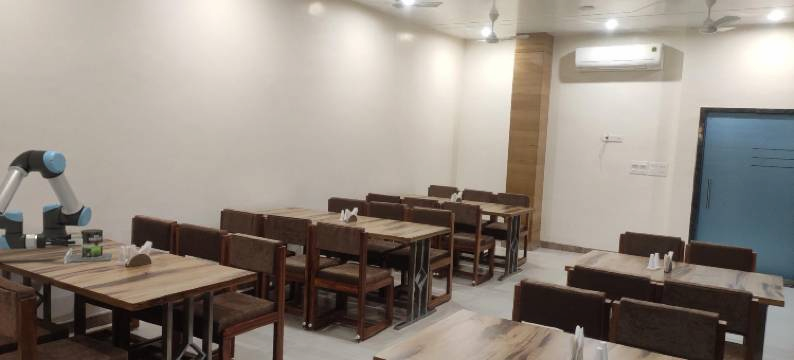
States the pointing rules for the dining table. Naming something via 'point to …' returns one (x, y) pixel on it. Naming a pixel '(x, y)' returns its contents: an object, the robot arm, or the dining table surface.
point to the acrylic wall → (68, 256)
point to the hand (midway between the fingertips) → (84, 239)
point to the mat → (78, 259)
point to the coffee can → (92, 244)
